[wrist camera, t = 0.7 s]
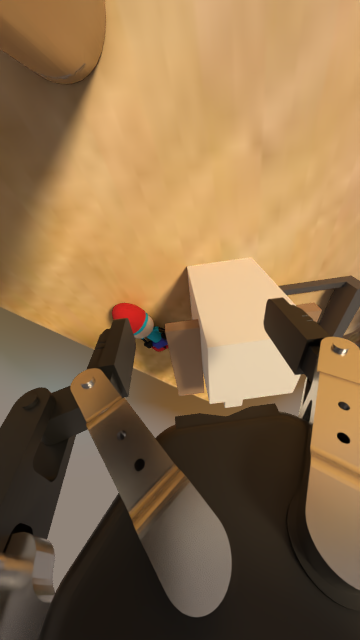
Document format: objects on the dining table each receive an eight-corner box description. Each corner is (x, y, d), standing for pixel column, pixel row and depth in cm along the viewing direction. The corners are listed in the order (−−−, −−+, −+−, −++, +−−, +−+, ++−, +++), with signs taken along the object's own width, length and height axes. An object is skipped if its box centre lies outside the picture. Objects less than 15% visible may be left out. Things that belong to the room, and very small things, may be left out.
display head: (161, 270, 31) (163, 354, 18) (277, 253, 31) (365, 325, 18) (178, 360, 45) (186, 444, 32) (257, 349, 45) (299, 429, 32)
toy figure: (184, 329, 42) (132, 286, 31) (187, 349, 38) (130, 309, 28) (155, 343, 44) (99, 308, 34) (156, 363, 41) (95, 331, 31)
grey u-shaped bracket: (262, 348, 45) (270, 362, 42) (276, 286, 35) (287, 299, 31) (320, 340, 45) (332, 354, 42) (351, 275, 34) (370, 287, 31)
